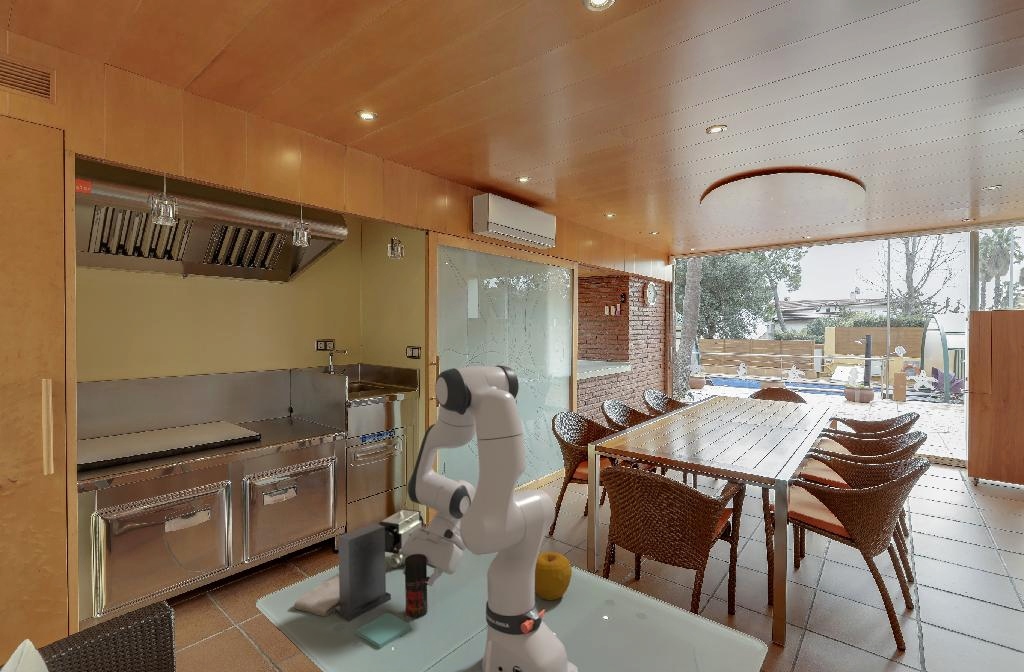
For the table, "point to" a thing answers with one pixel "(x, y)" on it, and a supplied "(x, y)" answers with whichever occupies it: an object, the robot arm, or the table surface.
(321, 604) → the washcloth
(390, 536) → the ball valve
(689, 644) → the table surface
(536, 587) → the apple
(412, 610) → the deodorant
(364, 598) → the block
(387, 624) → the plate
